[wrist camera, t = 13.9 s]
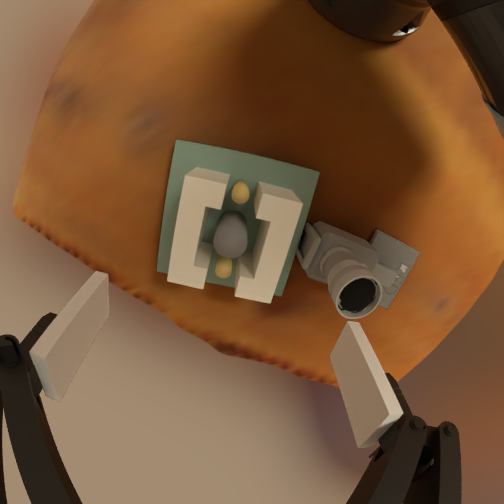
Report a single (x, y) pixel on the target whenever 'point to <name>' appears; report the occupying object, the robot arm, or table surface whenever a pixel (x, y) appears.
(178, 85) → the table surface
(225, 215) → the board
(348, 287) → the camera
